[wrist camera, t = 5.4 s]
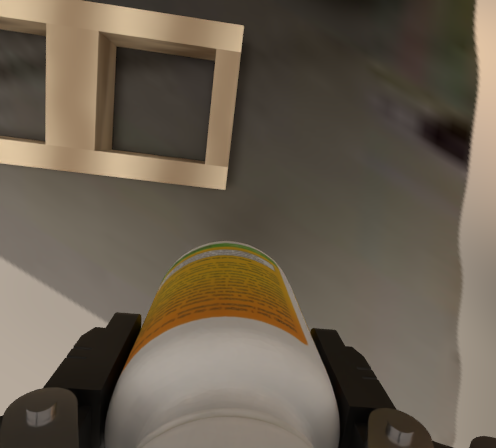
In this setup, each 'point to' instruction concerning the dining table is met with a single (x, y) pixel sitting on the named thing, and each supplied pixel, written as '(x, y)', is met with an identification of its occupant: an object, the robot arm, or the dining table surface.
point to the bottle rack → (103, 86)
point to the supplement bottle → (223, 362)
